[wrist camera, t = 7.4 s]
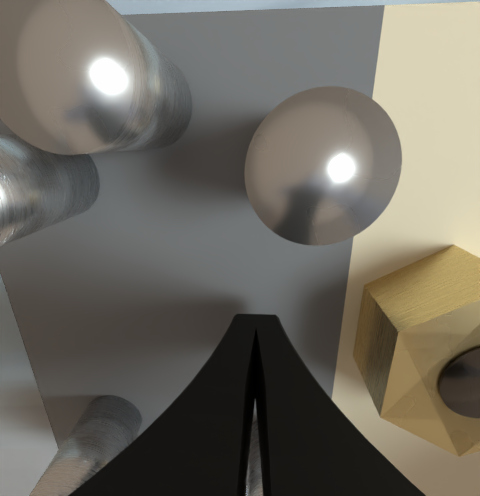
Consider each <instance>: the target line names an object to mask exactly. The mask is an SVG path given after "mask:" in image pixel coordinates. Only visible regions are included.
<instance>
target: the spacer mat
mask: <svg viewBox="0 0 480 496" xmlns="http://www.w3.org/2000/svg"><path fill="white" fill-rule="evenodd" d="M122 16H123V17H124V18H125V19H126V20H127V21H128V22H129V23H130V24H131V25H133V26H134V27H135V28H136V29H137V30H138V31H139V32H140V33H141V34H142V35H143V36H145V37H146V38H147V39H148V40H149V41H150V42H151V43H152V44H153V45H154V46H155V47H156V48H158V49H159V50H160V51H161V52H162V53H163V54H164V55H165V56H166V57H167V58H168V59H170V60H171V61H172V62H173V63H174V64H175V65H176V66H177V67H178V68H179V69H180V71H181V72H182V73H183V75H184V76H185V78H186V80H187V82H188V85H189V88H190V91H191V95H192V115H191V119H190V122H189V125H188V127H187V129H186V131H185V132H184V134H183V135H182V136H181V137H180V138H179V139H178V140H177V141H176V142H174V143H173V144H171V145H169V146H166V147H163V148H158V149H144V150H131V151H118V152H104V153H91V154H89V155H90V157H91V158H92V160H93V161H94V163H95V165H96V168H97V170H98V174H99V179H100V189H99V194H98V197H97V199H96V201H95V203H94V204H93V206H92V207H91V208H90V209H88V210H87V211H85V212H83V213H81V214H79V215H76V216H74V217H71V218H69V219H66V220H64V221H62V222H59V223H57V224H54V225H52V226H49V227H47V228H44V229H42V230H40V231H37V232H35V233H32V234H30V235H27V236H25V237H22V238H20V239H18V240H15V241H13V242H10V243H8V244H5V245H3V246H0V273H1V276H2V279H3V282H4V285H5V288H6V291H7V294H8V297H9V300H10V303H11V306H12V309H13V312H14V315H15V318H16V321H17V324H18V327H19V330H20V333H21V336H22V339H23V342H24V345H25V348H26V351H27V354H28V357H29V360H30V363H31V366H32V370H33V373H34V376H35V379H36V382H37V385H38V388H39V391H40V394H41V397H42V400H43V403H44V406H45V409H46V412H47V415H48V418H49V421H50V424H51V427H52V430H53V433H54V436H55V439H56V442H57V445H58V448H59V449H60V447H61V446H62V444H63V443H64V441H65V440H66V438H67V437H68V435H69V433H70V432H71V430H72V429H73V427H74V426H75V424H76V423H77V421H78V420H79V418H80V416H81V415H82V413H83V412H84V410H85V409H86V407H87V406H88V404H89V403H90V401H91V400H93V399H94V398H96V397H99V396H103V395H113V396H118V397H121V398H124V399H126V400H128V401H129V402H131V403H132V404H133V405H134V406H135V407H136V408H137V409H138V410H139V412H140V414H141V417H142V423H141V426H140V429H139V431H138V434H137V436H136V438H137V437H138V436H139V435H140V434H142V433H143V432H144V431H145V430H146V429H147V428H148V427H149V426H150V425H151V424H152V423H153V422H154V421H155V420H156V419H157V418H158V417H159V416H160V415H161V414H162V413H163V412H164V411H165V410H166V409H167V408H168V407H169V406H170V405H171V404H172V403H173V401H174V400H175V399H176V398H177V397H178V396H179V395H180V394H181V393H182V392H183V390H184V389H185V388H186V387H187V386H188V385H189V383H190V382H191V381H192V380H193V378H194V377H195V376H196V375H197V373H198V372H199V371H200V369H201V368H202V367H203V365H204V364H205V363H206V362H207V360H208V359H209V357H210V356H211V355H212V353H213V352H214V350H215V349H216V347H217V346H218V344H219V343H220V341H221V340H222V338H223V336H224V335H225V333H226V331H227V329H228V328H229V326H230V324H231V322H232V319H233V317H234V316H235V315H236V314H272V315H277V316H278V317H279V319H280V322H281V324H282V326H283V328H284V330H285V332H286V334H287V336H288V338H289V339H290V341H291V343H292V345H293V346H294V348H295V349H296V351H297V353H298V354H299V356H300V357H301V359H302V360H303V362H304V363H305V365H306V366H307V368H308V369H309V371H310V372H311V373H312V375H313V376H314V377H315V379H316V380H317V382H318V383H319V384H320V386H321V387H322V388H323V389H324V391H325V392H326V393H327V395H328V396H329V397H330V398H331V399H332V401H333V402H334V403H335V404H336V405H337V407H338V408H339V409H340V410H341V411H342V412H343V413H344V415H345V416H346V417H347V418H348V419H349V420H350V421H351V422H352V424H353V425H354V426H355V427H356V428H357V429H358V430H359V431H360V432H361V433H362V434H363V435H364V437H365V438H366V439H367V440H368V441H369V442H370V443H371V444H372V445H373V446H374V447H375V448H376V449H377V450H379V451H380V452H381V453H382V454H383V455H384V456H385V457H386V458H387V459H388V460H389V461H390V462H391V463H392V464H393V465H394V466H395V467H396V468H397V469H398V470H399V471H400V472H401V473H402V474H403V475H404V476H405V477H406V478H407V479H408V480H409V481H410V482H411V483H413V484H414V485H415V486H416V487H417V488H418V489H419V490H420V491H422V492H423V493H424V494H425V495H426V496H480V451H479V452H475V453H472V454H468V455H465V456H461V457H458V456H456V455H454V454H452V453H450V452H448V451H446V450H444V449H442V448H440V447H438V446H436V445H434V444H432V443H430V442H428V441H426V440H424V439H422V438H420V437H418V436H416V435H414V434H412V433H410V432H408V431H406V430H404V429H402V428H400V427H398V426H396V425H394V424H392V423H390V422H388V421H386V420H384V419H382V418H380V416H379V414H378V412H377V409H376V407H375V405H374V403H373V400H372V398H371V396H370V394H369V391H368V389H367V387H366V384H365V382H364V380H363V378H362V375H361V373H360V371H359V369H358V366H357V364H356V362H355V360H354V357H353V351H354V345H355V338H356V332H357V326H358V319H359V313H360V307H361V300H362V294H363V288H364V285H365V284H367V283H369V282H371V281H374V280H376V279H378V278H380V277H383V276H385V275H387V274H389V273H392V272H394V271H396V270H398V269H400V268H403V267H405V266H407V265H409V264H412V263H414V262H416V261H418V260H420V259H423V258H425V257H427V256H429V255H432V254H434V253H436V252H438V251H440V250H443V249H445V248H447V247H449V246H452V245H456V246H458V247H460V248H462V249H464V250H465V251H467V252H469V253H471V254H473V255H475V256H477V257H479V258H480V2H460V3H433V4H406V5H379V6H352V7H325V8H298V9H271V10H244V11H217V12H190V13H163V14H136V15H122ZM324 86H338V87H344V88H349V89H353V90H355V91H358V92H361V93H363V94H365V95H366V96H368V97H370V98H371V99H373V100H374V101H375V102H377V103H378V104H379V105H380V106H381V107H382V108H383V109H384V110H385V111H386V112H387V114H388V115H389V117H390V118H391V120H392V121H393V123H394V126H395V128H396V130H397V132H398V136H399V139H400V143H401V150H402V167H401V174H400V178H399V182H398V185H397V188H396V191H395V193H394V195H393V197H392V199H391V201H390V203H389V204H388V206H387V207H386V209H385V210H384V212H383V213H382V214H381V215H380V216H379V217H378V218H377V220H375V221H374V222H373V223H372V224H371V225H370V226H369V227H367V228H366V229H365V230H363V231H362V232H360V233H359V234H357V235H355V236H353V237H351V238H349V239H347V240H344V241H341V242H338V243H335V244H329V245H320V246H312V245H303V244H298V243H294V242H291V241H288V240H286V239H284V238H282V237H280V236H279V235H277V234H276V233H274V232H272V231H271V230H270V229H269V228H268V227H267V226H266V225H265V224H264V223H263V222H262V221H261V220H260V219H259V217H258V216H257V214H256V213H255V211H254V209H253V207H252V205H251V203H250V201H249V198H248V195H247V191H246V186H245V175H244V172H245V161H246V156H247V151H248V148H249V145H250V142H251V140H252V138H253V136H254V134H255V132H256V130H257V129H258V127H259V125H260V124H261V122H262V121H263V120H264V119H265V117H266V116H267V115H268V114H269V113H270V112H271V111H272V110H273V109H274V108H275V107H276V106H278V105H279V104H280V103H282V102H283V101H284V100H286V99H288V98H289V97H291V96H293V95H295V94H297V93H299V92H302V91H305V90H308V89H312V88H316V87H324ZM0 134H15V133H14V132H13V131H12V130H11V129H10V128H9V127H8V126H6V125H5V124H4V122H3V121H2V120H1V119H0ZM255 419H257V413H256V400H255V405H254V414H253V422H254V421H255ZM248 476H249V461H248V471H247V481H246V485H248Z"/></svg>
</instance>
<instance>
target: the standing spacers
mask: <svg viewBox="0 0 480 496" xmlns="http://www.w3.org/2000/svg"><path fill="white" fill-rule="evenodd" d="M191 115H192V95H191V91H190V88H189V85H188V82H187V80H186V78H185V76H184V75H183V73H182V72H181V71H180V69H179V68H178V67H177V66H176V65H175V64H174V63H173V62H172V61H171V60H170V59H168V58H167V57H166V56H165V55H164V54H163V53H162V52H161V51H160V50H159V49H158V48H156V47H155V46H154V45H153V44H152V43H151V42H150V41H149V40H148V39H147V38H146V37H145V36H143V35H142V34H141V33H140V32H139V31H138V30H137V29H136V28H135V27H134V26H133V25H131V24H130V23H129V22H128V21H127V20H126V19H125V18H124V17H123V16H122V15H121V14H120V13H118V12H117V11H116V10H115V9H114V8H113V7H112V6H111V5H110V4H109V3H108V2H106V1H105V0H0V119H1V120H2V121H3V122H4V124H5V125H6V126H8V127H9V128H10V129H11V130H12V131H13V132H14V133H15V134H0V246H3V245H5V244H8V243H10V242H13V241H15V240H18V239H20V238H22V237H25V236H27V235H30V234H32V233H35V232H37V231H40V230H42V229H44V228H47V227H49V226H52V225H54V224H57V223H59V222H62V221H64V220H66V219H69V218H71V217H74V216H76V215H79V214H81V213H83V212H85V211H87V210H88V209H90V208H91V207H92V206H93V204H94V203H95V201H96V199H97V197H98V194H99V189H100V179H99V174H98V170H97V168H96V165H95V163H94V161H93V160H92V158H91V157H90V155H89V154H91V153H104V152H118V151H131V150H144V149H158V148H163V147H166V146H169V145H171V144H173V143H174V142H176V141H177V140H178V139H179V138H180V137H181V136H182V135H183V134H184V132H185V131H186V129H187V127H188V125H189V122H190V119H191ZM401 167H402V150H401V143H400V139H399V136H398V132H397V130H396V128H395V126H394V123H393V121H392V120H391V118H390V117H389V115H388V114H387V112H386V111H385V110H384V109H383V108H382V107H381V106H380V105H379V104H378V103H377V102H375V101H374V100H373V99H371V98H370V97H368V96H366V95H365V94H363V93H361V92H358V91H355V90H353V89H349V88H344V87H338V86H324V87H316V88H312V89H308V90H305V91H302V92H299V93H297V94H295V95H293V96H291V97H289V98H288V99H286V100H284V101H283V102H282V103H280V104H279V105H278V106H276V107H275V108H274V109H273V110H272V111H271V112H270V113H269V114H268V115H267V116H266V117H265V119H264V120H263V121H262V122H261V124H260V125H259V127H258V129H257V130H256V132H255V134H254V136H253V138H252V140H251V142H250V145H249V148H248V151H247V156H246V161H245V172H244V175H245V186H246V191H247V195H248V198H249V201H250V203H251V205H252V207H253V209H254V211H255V213H256V214H257V216H258V217H259V219H260V220H261V221H262V222H263V223H264V224H265V225H266V226H267V227H268V228H269V229H270V230H271V231H272V232H274V233H276V234H277V235H279V236H280V237H282V238H284V239H286V240H288V241H291V242H294V243H298V244H303V245H312V246H320V245H329V244H335V243H338V242H341V241H344V240H347V239H349V238H351V237H353V236H355V235H357V234H359V233H360V232H362V231H363V230H365V229H366V228H367V227H369V226H370V225H371V224H372V223H373V222H374V221H375V220H377V218H378V217H379V216H380V215H381V214H382V213H383V212H384V210H385V209H386V207H387V206H388V204H389V203H390V201H391V199H392V197H393V195H394V193H395V191H396V188H397V185H398V182H399V178H400V174H401ZM141 423H142V417H141V414H140V412H139V410H138V409H137V408H136V407H135V406H134V405H133V404H132V403H131V402H129V401H128V400H126V399H124V398H121V397H118V396H113V395H103V396H99V397H96V398H94V399H93V400H91V401H90V403H89V404H88V406H87V407H86V409H85V410H84V412H83V413H82V415H81V416H80V418H79V420H78V421H77V423H76V424H75V426H74V427H73V429H72V430H71V432H70V433H69V435H68V437H67V438H66V440H65V441H64V443H63V444H62V446H61V447H60V449H59V450H58V452H57V454H56V455H55V457H54V458H53V460H52V461H51V463H50V464H49V466H48V468H47V469H46V471H45V472H44V474H43V475H42V477H41V478H40V480H39V481H38V483H37V485H36V486H35V488H34V489H33V491H32V492H31V494H30V495H29V496H68V495H69V494H71V493H72V492H73V491H75V490H76V489H77V488H78V487H80V486H81V485H82V484H83V483H85V482H86V481H87V480H88V479H90V478H91V477H92V476H93V475H94V474H95V473H97V472H98V471H99V470H100V469H101V468H103V467H104V466H105V465H106V464H107V463H108V462H110V461H111V460H112V459H113V458H114V457H115V456H117V455H118V454H119V453H120V452H121V451H123V450H124V449H125V448H126V447H127V446H128V445H130V444H131V443H132V442H133V441H134V440H135V439H136V436H137V434H138V431H139V429H140V426H141ZM248 496H263V492H262V474H261V462H260V449H259V437H258V425H257V419H255V421H254V422H253V424H252V433H251V442H250V452H249V476H248Z"/></svg>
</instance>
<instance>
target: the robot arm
mask: <svg viewBox="0 0 480 496" xmlns="http://www.w3.org/2000/svg"><path fill="white" fill-rule="evenodd" d="M255 400H256V413H257V425H258V437H259V449H260V462H261V474H262V492H263V496H426V495H425V494H424V493H423V492H422V491H420V490H419V489H418V488H417V487H416V486H415V485H414V484H413V483H411V482H410V481H409V480H408V479H407V478H406V477H405V476H404V475H403V474H402V473H401V472H400V471H399V470H398V469H397V468H396V467H395V466H394V465H393V464H392V463H391V462H390V461H389V460H388V459H387V458H386V457H385V456H384V455H383V454H382V453H381V452H380V451H379V450H377V449H376V448H375V447H374V446H373V445H372V444H371V443H370V442H369V441H368V440H367V439H366V438H365V437H364V435H363V434H362V433H361V432H360V431H359V430H358V429H357V428H356V427H355V426H354V425H353V424H352V422H351V421H350V420H349V419H348V418H347V417H346V416H345V415H344V413H343V412H342V411H341V410H340V409H339V408H338V407H337V405H336V404H335V403H334V402H333V401H332V399H331V398H330V397H329V396H328V395H327V393H326V392H325V391H324V389H323V388H322V387H321V386H320V384H319V383H318V382H317V380H316V379H315V377H314V376H313V375H312V373H311V372H310V371H309V369H308V368H307V366H306V365H305V363H304V362H303V360H302V359H301V357H300V356H299V354H298V353H297V351H296V349H295V348H294V346H293V345H292V343H291V341H290V339H289V338H288V336H287V334H286V332H285V330H284V328H283V326H282V324H281V322H280V319H279V317H278V316H277V315H272V314H236V315H235V316H234V317H233V319H232V322H231V324H230V326H229V328H228V329H227V331H226V333H225V335H224V336H223V338H222V340H221V341H220V343H219V344H218V346H217V347H216V349H215V350H214V352H213V353H212V355H211V356H210V357H209V359H208V360H207V362H206V363H205V364H204V365H203V367H202V368H201V369H200V371H199V372H198V373H197V375H196V376H195V377H194V378H193V380H192V381H191V382H190V383H189V385H188V386H187V387H186V388H185V389H184V390H183V392H182V393H181V394H180V395H179V396H178V397H177V398H176V399H175V400H174V401H173V403H172V404H171V405H170V406H169V407H168V408H167V409H166V410H165V411H164V412H163V413H162V414H161V415H160V416H159V417H158V418H157V419H156V420H155V421H154V422H153V423H152V424H151V425H150V426H149V427H148V428H147V429H146V430H145V431H144V432H143V433H142V434H140V435H139V436H138V437H137V438H136V439H135V440H134V441H133V442H132V443H131V444H130V445H128V446H127V447H126V448H125V449H124V450H123V451H121V452H120V453H119V454H118V455H117V456H115V457H114V458H113V459H112V460H111V461H110V462H108V463H107V464H106V465H105V466H104V467H103V468H101V469H100V470H99V471H98V472H97V473H95V474H94V475H93V476H92V477H91V478H90V479H88V480H87V481H86V482H85V483H83V484H82V485H81V486H80V487H78V488H77V489H76V490H75V491H73V492H72V493H71V494H69V495H68V496H245V495H246V481H247V471H248V461H249V452H250V442H251V433H252V424H253V414H254V405H255Z"/></svg>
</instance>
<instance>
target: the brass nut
mask: <svg viewBox="0 0 480 496" xmlns="http://www.w3.org/2000/svg"><path fill="white" fill-rule="evenodd" d="M353 357H354V360H355V362H356V364H357V366H358V369H359V371H360V373H361V375H362V378H363V380H364V382H365V384H366V387H367V389H368V391H369V394H370V396H371V398H372V400H373V403H374V405H375V407H376V409H377V412H378V414H379V416H380V418H382V419H384V420H386V421H388V422H390V423H392V424H394V425H396V426H398V427H400V428H402V429H404V430H406V431H408V432H410V433H412V434H414V435H416V436H418V437H420V438H422V439H424V440H426V441H428V442H430V443H432V444H434V445H436V446H438V447H440V448H442V449H444V450H446V451H448V452H450V453H452V454H454V455H456V456H458V457H461V456H465V455H468V454H472V453H475V452H479V451H480V258H479V257H477V256H475V255H473V254H471V253H469V252H467V251H465V250H464V249H462V248H460V247H458V246H456V245H452V246H449V247H447V248H445V249H443V250H440V251H438V252H436V253H434V254H432V255H429V256H427V257H425V258H423V259H420V260H418V261H416V262H414V263H412V264H409V265H407V266H405V267H403V268H400V269H398V270H396V271H394V272H392V273H389V274H387V275H385V276H383V277H380V278H378V279H376V280H374V281H371V282H369V283H367V284H365V285H364V288H363V294H362V300H361V307H360V313H359V319H358V326H357V332H356V338H355V345H354V351H353Z"/></svg>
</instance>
